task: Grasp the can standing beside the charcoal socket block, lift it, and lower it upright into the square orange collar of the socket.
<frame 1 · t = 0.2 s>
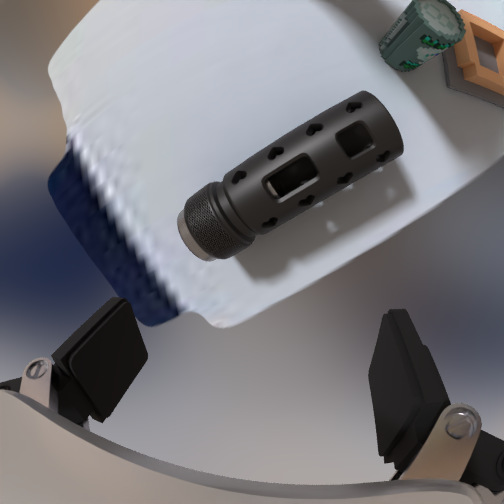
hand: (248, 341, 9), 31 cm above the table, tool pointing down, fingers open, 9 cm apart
muzzle brake: (288, 173, 37), on the table
socket block: (477, 57, 22), on the table
can: (398, 53, 26), on the table
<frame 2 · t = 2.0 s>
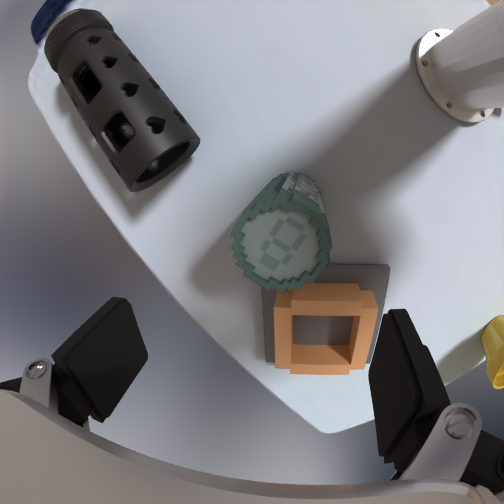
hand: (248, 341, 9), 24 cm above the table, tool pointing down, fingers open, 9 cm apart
plant pot: (493, 330, 31), on the table
muzzle brake: (132, 86, 28), on the table
socket block: (322, 317, 35), on the table
can: (292, 198, 31), on the table
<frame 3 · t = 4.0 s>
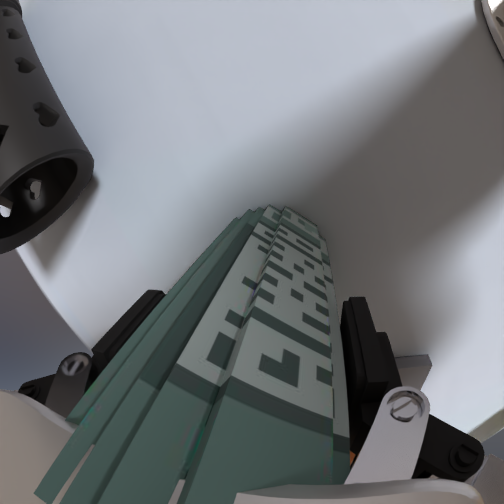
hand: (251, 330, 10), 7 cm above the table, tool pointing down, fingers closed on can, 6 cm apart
muzzle brake: (35, 77, 14), on the table
socket block: (319, 418, 21), on the table
can: (273, 257, 16), on the table, touching gripper
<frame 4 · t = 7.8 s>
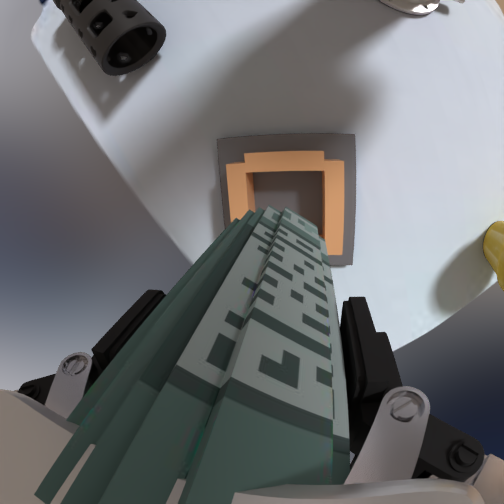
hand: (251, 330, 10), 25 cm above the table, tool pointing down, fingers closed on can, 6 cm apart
plant pot: (496, 241, 28), on the table
muzzle brake: (118, 16, 25), on the table
socket block: (288, 200, 32), on the table
can: (273, 257, 16), point 18 cm above the table, touching gripper
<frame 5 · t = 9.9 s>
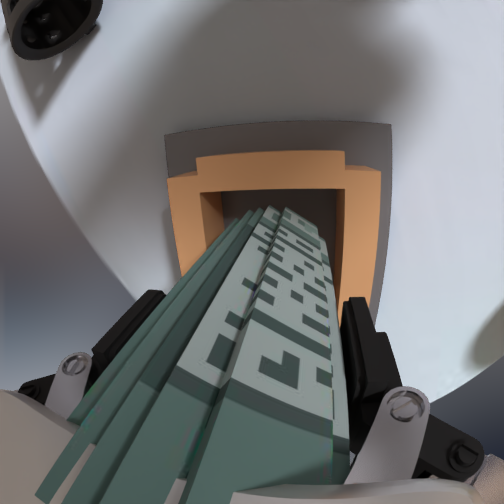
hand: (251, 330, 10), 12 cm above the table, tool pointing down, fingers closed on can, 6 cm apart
socket block: (281, 231, 20), on the table
can: (273, 258, 16), point 5 cm above the table, touching gripper
when the fingers open (9 cm above the table, at t = 11.5 s): can drops 1 cm, resting on socket block.
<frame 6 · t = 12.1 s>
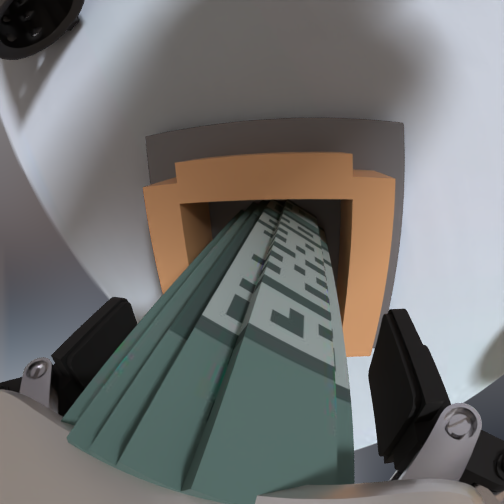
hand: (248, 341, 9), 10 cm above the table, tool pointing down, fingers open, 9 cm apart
socket block: (277, 244, 18), on the table
can: (275, 247, 17), point 1 cm above the table, touching socket block
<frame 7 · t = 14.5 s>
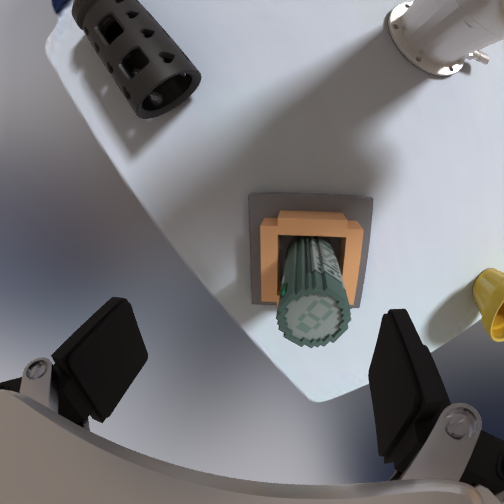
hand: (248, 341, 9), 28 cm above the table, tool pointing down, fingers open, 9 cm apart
plant pot: (485, 285, 33), on the table
muzzle brake: (144, 44, 29), on the table
socket block: (309, 252, 37), on the table
can: (310, 253, 36), point 1 cm above the table, touching socket block
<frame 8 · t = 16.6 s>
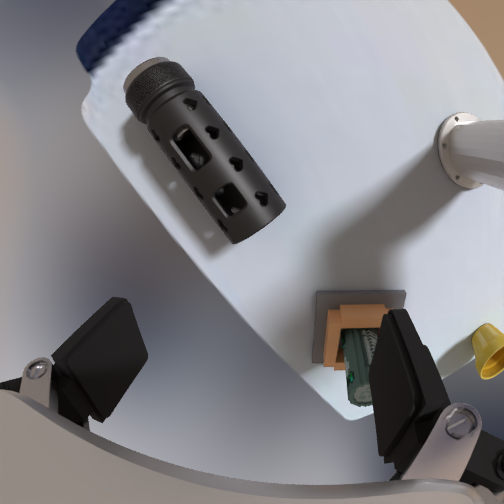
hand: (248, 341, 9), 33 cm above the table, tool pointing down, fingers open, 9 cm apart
plant pot: (481, 334, 42), on the table
muzzle brake: (211, 142, 39), on the table
socket block: (356, 328, 46), on the table
can: (357, 330, 45), point 1 cm above the table, touching socket block
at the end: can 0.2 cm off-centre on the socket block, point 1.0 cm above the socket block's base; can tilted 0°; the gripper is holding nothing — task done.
